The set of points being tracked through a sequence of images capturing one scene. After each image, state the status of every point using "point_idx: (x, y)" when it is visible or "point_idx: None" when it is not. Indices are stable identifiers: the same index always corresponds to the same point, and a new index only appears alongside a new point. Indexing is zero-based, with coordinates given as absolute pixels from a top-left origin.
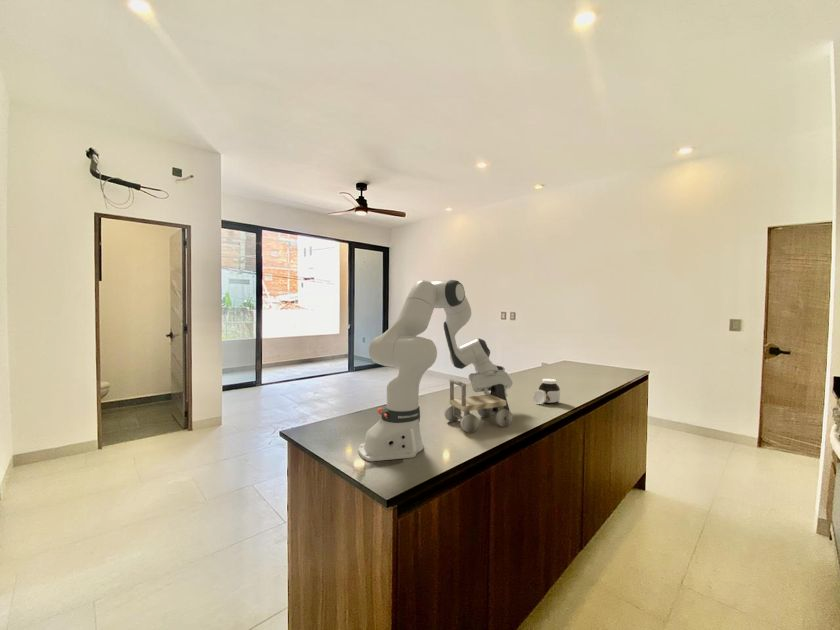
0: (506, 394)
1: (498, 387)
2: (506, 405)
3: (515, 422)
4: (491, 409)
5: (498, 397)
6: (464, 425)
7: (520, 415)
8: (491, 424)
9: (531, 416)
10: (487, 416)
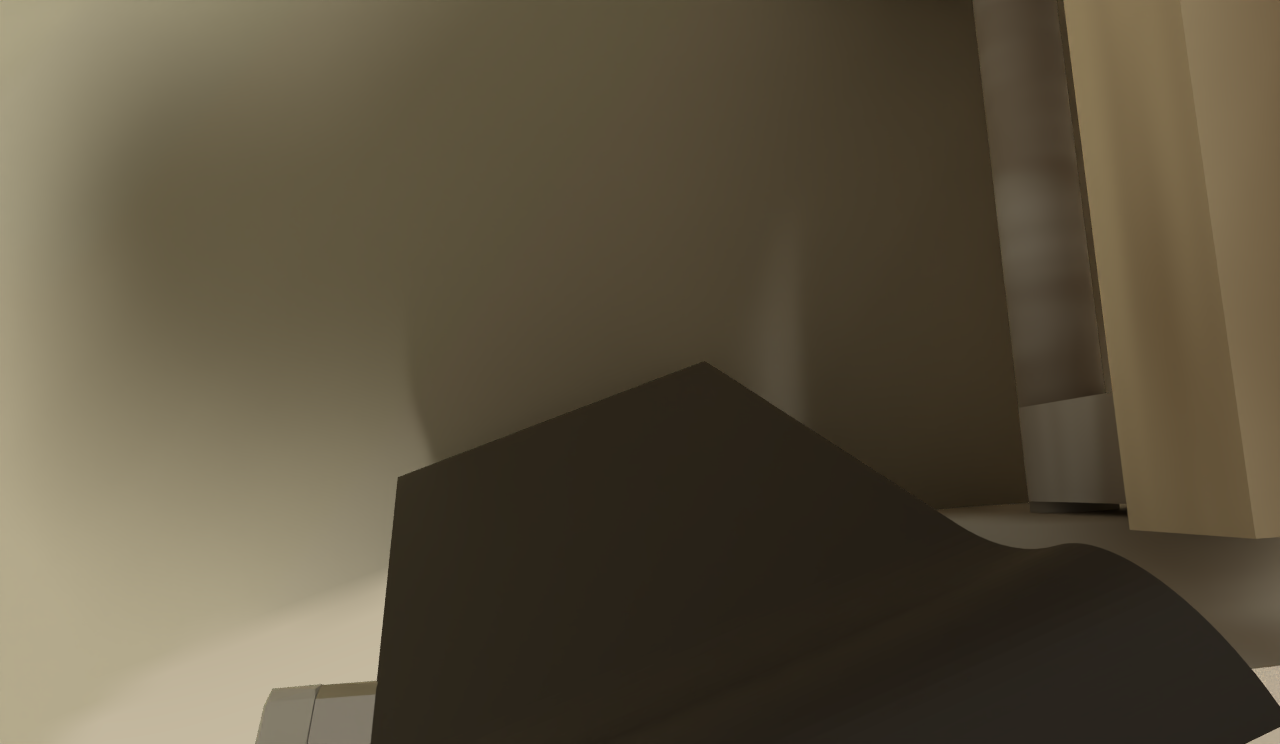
0: (299, 703)
1: (888, 670)
2: (465, 503)
3: (594, 19)
4: None
5: (804, 501)
6: None
7: (205, 360)
8: (1070, 97)
9: (18, 209)
10: (954, 508)
